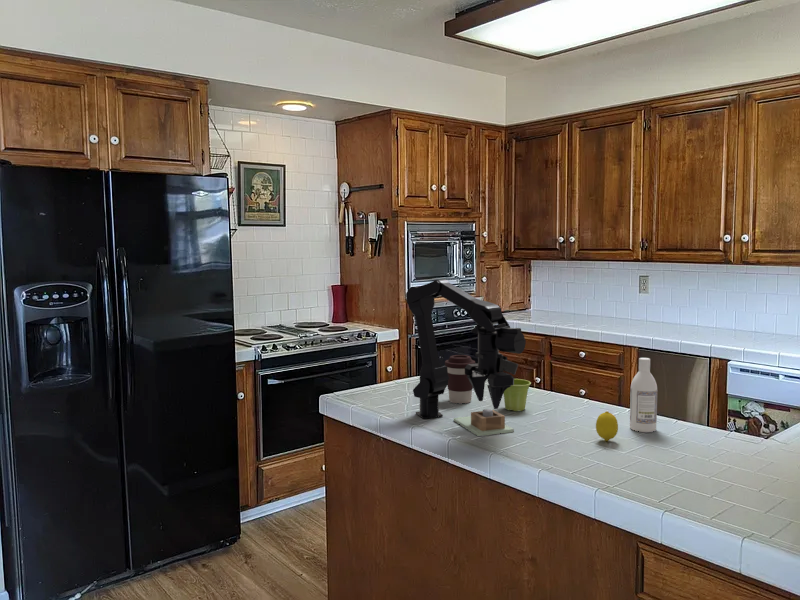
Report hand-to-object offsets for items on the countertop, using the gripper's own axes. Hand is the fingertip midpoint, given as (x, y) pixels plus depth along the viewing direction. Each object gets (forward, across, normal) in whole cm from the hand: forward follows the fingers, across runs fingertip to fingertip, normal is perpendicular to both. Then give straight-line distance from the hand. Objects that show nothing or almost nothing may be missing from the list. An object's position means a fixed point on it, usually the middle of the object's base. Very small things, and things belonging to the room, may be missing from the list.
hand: (488, 404), depth 178 cm
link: (+6, 0, 0) cm, 6 cm away
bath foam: (+7, -16, -40) cm, 44 cm away
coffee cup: (+7, +31, -6) cm, 32 cm away
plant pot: (+7, +16, -18) cm, 25 cm away
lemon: (+7, -21, -24) cm, 33 cm away
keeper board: (+7, +3, 0) cm, 8 cm away
